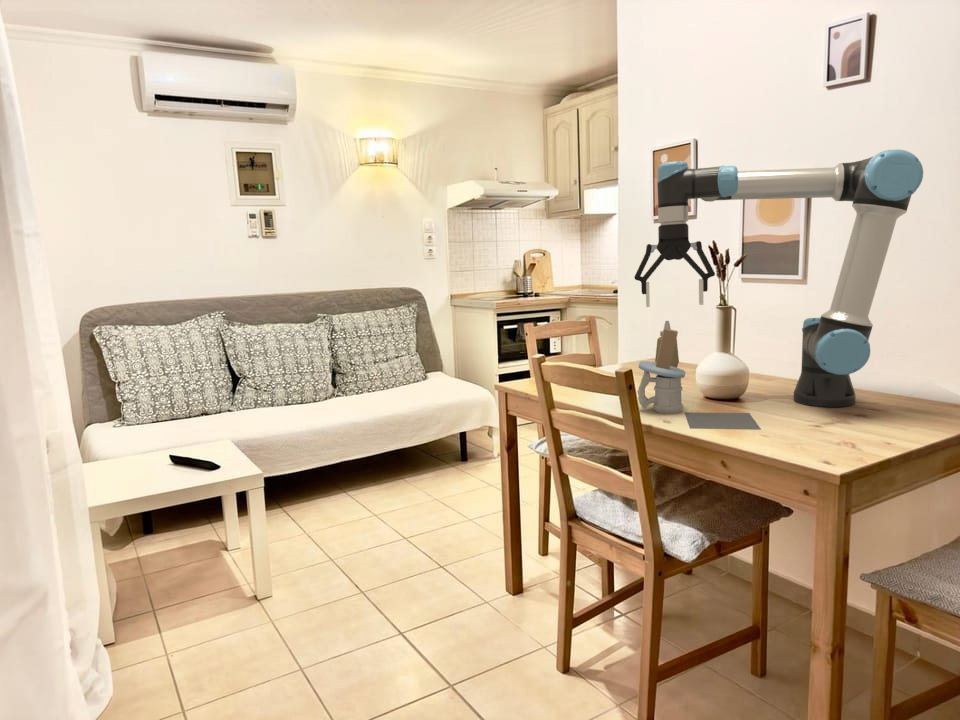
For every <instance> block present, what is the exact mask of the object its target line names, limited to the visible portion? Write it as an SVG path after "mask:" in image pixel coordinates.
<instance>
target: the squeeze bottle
mask: <svg viewBox="0 0 960 720" xmlns="http://www.w3.org/2000/svg"><path fill="white" fill-rule="evenodd" d="M664 328H665V329H670V330H672V328H671V324H670V321H669V320H665V321H664V326H663V329H664ZM659 333H660V334H659V337H657V339H656V340H657V341H656V349H655V360H654V362H655V363H656V361H657V357H658V352H659V348H660V344H661V339H662V335H663V330H660V332H659ZM679 362H680V359H679V349H678V339H677V338H676V343H675V347H674V351H673V356H672V360H671V364H670V366H673V367H676V368H678V366H679Z"/></svg>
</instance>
